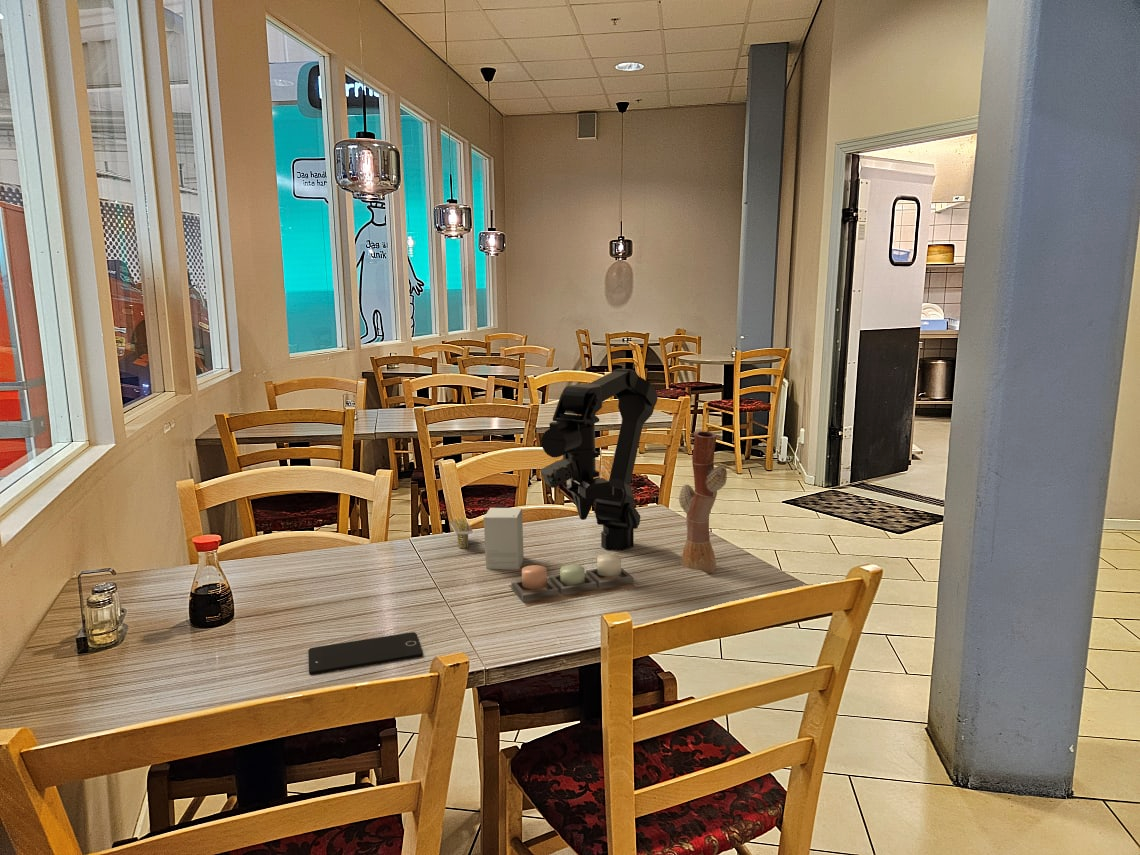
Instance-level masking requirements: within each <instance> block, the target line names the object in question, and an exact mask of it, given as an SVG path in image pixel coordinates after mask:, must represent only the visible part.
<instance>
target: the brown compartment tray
mask: <svg viewBox="0 0 1140 855" xmlns="http://www.w3.org/2000/svg"><path fill="white" fill-rule="evenodd" d="M508 587H509V588H511V590H512V592H514V594H515V595H516V596H517V597H518V598H519V600H520V601H521V602H522V603H523V604H524V605H525V606H526V607H531V606H537V605H542V604H548V603H554V602H559V601H561V602H562V601H565V600H566V601H568V600H572V599H577V598H583V597H589V596H594V595H595V596H596V595H601V594H606V593H612V592H617V591H624V590H631V589H636V588H638V586H636V585H635V584H634V576H633V575H632V574H630V573H629V572H628V571H626V570H625V569H623V568H622V567H621V574H620V575H618V576H613V577H606V576H601V575H599V574H598V573H597V568H592V569H585V583H584V584H578V585H572V586H566V587H564V586H563V585H562V584H561V579H560V573H559V574H554V575H549V577H548V578H547V585H546V586H545V587H543V588H540V589H528V588H525V587H523V586H522V579H521V580H516V581H511V582H510V585H508Z"/></svg>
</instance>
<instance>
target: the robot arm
mask: <svg viewBox="0 0 1140 855" xmlns="http://www.w3.org/2000/svg"><path fill="white" fill-rule="evenodd" d="M559 396H560V397H559V400H558V402H557V405H556V408H555V411H554V414H553V416H552V422H549V428H548V429H547V430H545V431H544V432H543V435H542V438H541V440H540V442H541V447H542V450H543V451H544V453H545V454H546V455H547V456H549V457H551V458H554V459H555V458H559V457H561V456H562V459H559V460H557V461H554V462H552V463H550V464H548V465H547V466H545V467H543V468H541V469H540V473H541V475H542V477H543V481H544V484H546V485H547V486H549V487H550V488H551V489H554V488H557V487H559V485H561V484H563V483H565V482H566V484H563V488H565V489H566V490H567V491H568V492H570V493H571V495H572V498H573V501H574V503H575V507H576V511H577V515H578V516H579V519H580V520H582V521H584V520H586V519H587V517H588V516H589V513H590V512H591V509H592V507H593V508H594V514H595V520H596V523H597V525H599V526H600V525H601V526H602V531H601V534H600V536H601V537H600V538H601V539H600V540H601V545H600V547H601V548H602V549H604V551H626V550H629V549H631V548H633V547H634V546H635V544H634V530H635V529H636V530H637V529H638V528H639V526H640V522H641V514H640V513H639V511H638V510H637V509H636V507H635V496H634V493H633V489H632V487H631V483H632V477H633V473H634V468H635V464H636V460H637V455H638V451H639V450H638V449H639V445H640V440H641V435H642V431H643V427H644V424H645V423H646V422H647V421H648V420H649V419H650V417H652V415H653V413H654V409H655V406H656V404H657V402H658V397H659V396H658V393H657V391H656V389H655V388H654V386H653V385H652V383H651V382H649V381H647V380H646V379H644V377H641V376H639V375H638V373H637V372H636V371H635V370H633V369H631V368H630V369H629V368H616V369H613V370H611V372H609V373H608V374H605V375H604V376H602V377H599V378H597V379H595V380H592V382H589V383H585V384H584V383H583V384H581V383H580V384H572V385H567V386H566V387H564V388H563V389H562V392H561V393H560V395H559ZM612 397H616V399H617V400H618V404H617V407H618V412H619V413H620V417H621V424H620V428H619V432H618V437H617V442H616V446H615V451H614V454H613V455H614V456H613V460H612V465H611V470H610V475H609V478H608V480H607V479H605V478H604V477H600V471H599V470H597V469H596V467H597V466H596V458H600V453H599V451H596V428H595V427H596V425H595V424H596V423H599V422H600V418H599V417H598V416H597V415H596V414H597V413H598V412H599V411H600V410H601V409H602V408H603V403H604V402H605V401H607V400H608V399H610V398H612ZM599 477H600V478H599Z"/></svg>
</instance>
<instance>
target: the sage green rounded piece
mask: <svg viewBox="0 0 1140 855" xmlns="http://www.w3.org/2000/svg"><path fill="white" fill-rule="evenodd" d="M559 572H560V573H559V574H560V579H561V584H562V585H563V586H564V587H566V586H572V585H578V584H584V583H585V573H586V569H585V567H584V566H582V565H578V564H566V565H563V566H561V568H560V570H559Z"/></svg>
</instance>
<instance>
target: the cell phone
mask: <svg viewBox="0 0 1140 855" xmlns="http://www.w3.org/2000/svg"><path fill="white" fill-rule="evenodd" d="M307 655H308V674H309V675H311V676H313V675H319V674H327V673H330V672H331V673H332V672H337V670H339V671H344V670H349V669H355V668H362V667H369V666H375V665H380V664H386V663H387V664H388V663H392V662H393V663H394V662H400V661H404V660H411V659H416V658H417V659H418V658H422V657H423V656H424V654H423V649H422V646H421V644H420V640H419V638H418V633H416V632H414V631H413V632H405V633H398V634H391V635H386V636H379V637H372V638H367V639H359V640H354V641H353V640H352V641H347V642H346V641H345V642H341V643H340V642H339V643H333V644H326V645H320V646H314V647H309V649H308V654H307Z"/></svg>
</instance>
